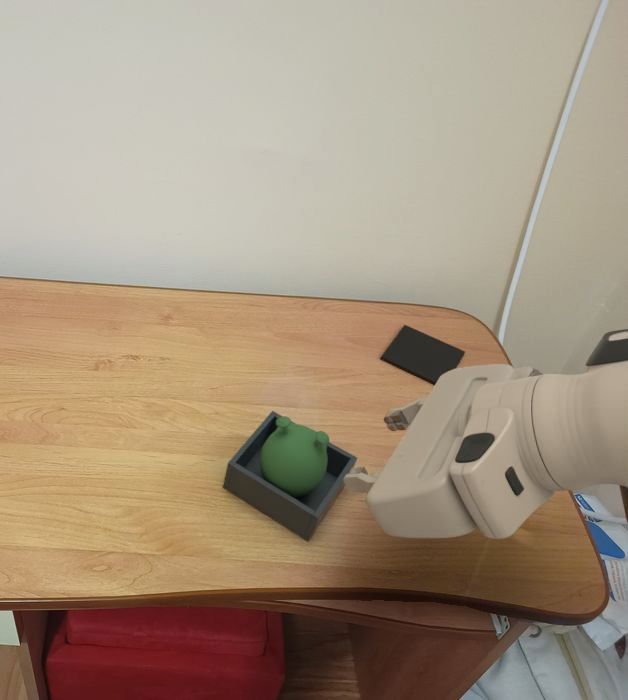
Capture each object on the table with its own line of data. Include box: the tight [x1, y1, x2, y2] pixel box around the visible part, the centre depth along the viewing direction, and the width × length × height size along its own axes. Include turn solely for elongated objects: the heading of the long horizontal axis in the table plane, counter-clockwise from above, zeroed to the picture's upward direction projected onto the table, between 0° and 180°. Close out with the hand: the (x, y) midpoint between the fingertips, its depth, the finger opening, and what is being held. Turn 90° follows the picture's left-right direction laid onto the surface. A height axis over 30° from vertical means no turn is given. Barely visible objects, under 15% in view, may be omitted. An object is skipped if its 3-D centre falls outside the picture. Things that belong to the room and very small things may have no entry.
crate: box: [222, 410, 358, 542], centre depth 69 cm, size 11×10×4 cm
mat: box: [379, 324, 466, 386], centre depth 88 cm, size 9×9×1 cm
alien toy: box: [260, 415, 330, 497], centre depth 67 cm, size 7×8×10 cm
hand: (369, 449), depth 60 cm, fingers open, 8 cm apart
